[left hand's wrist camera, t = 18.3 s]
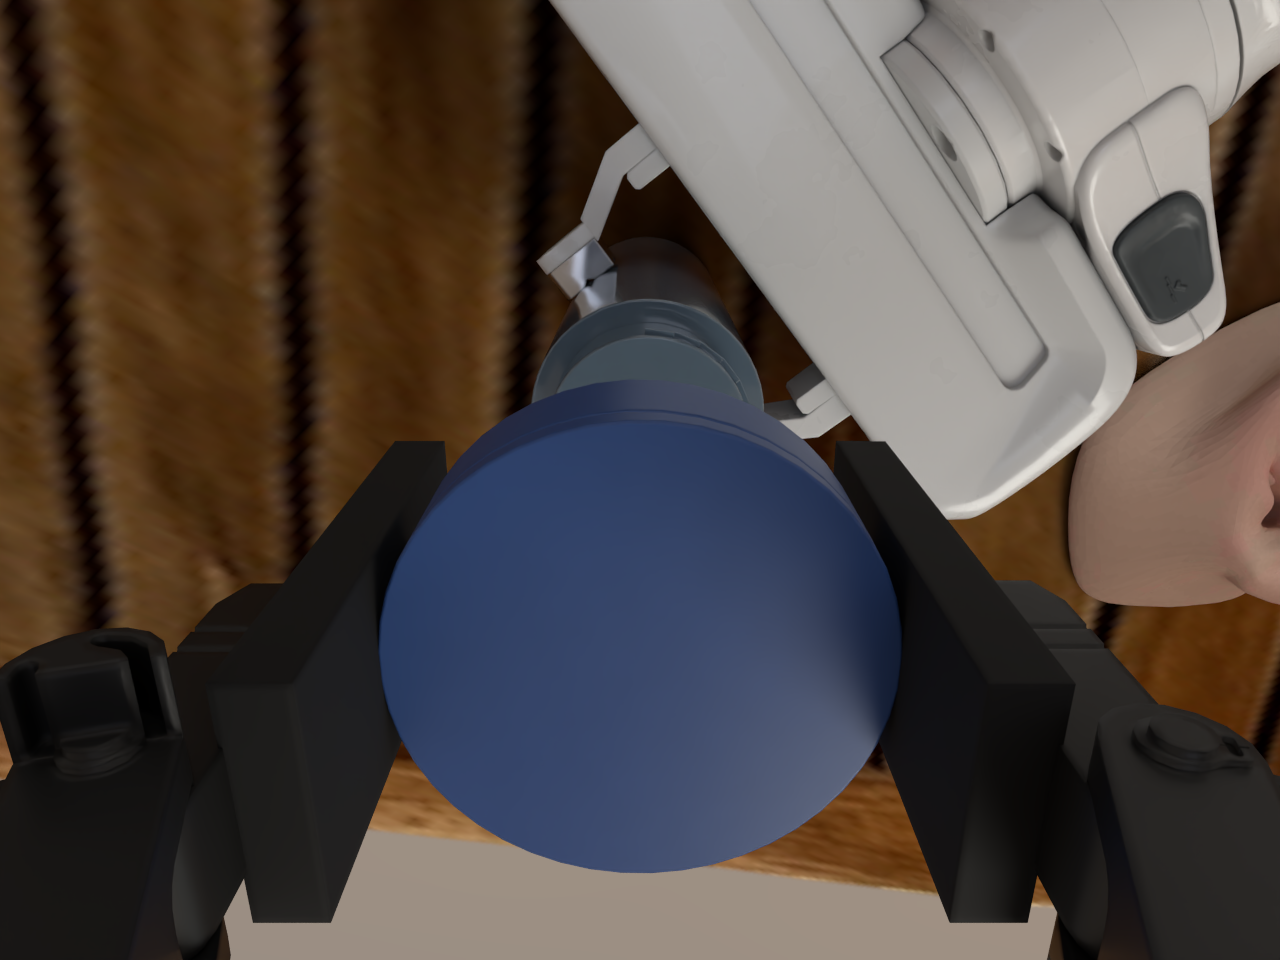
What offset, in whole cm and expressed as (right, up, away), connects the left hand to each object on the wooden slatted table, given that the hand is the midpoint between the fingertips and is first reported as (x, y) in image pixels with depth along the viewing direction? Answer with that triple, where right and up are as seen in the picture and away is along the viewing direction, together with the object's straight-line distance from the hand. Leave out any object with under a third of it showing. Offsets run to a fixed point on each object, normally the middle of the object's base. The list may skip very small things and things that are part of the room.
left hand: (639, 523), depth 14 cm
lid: (0, -1, -4) cm, 4 cm away
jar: (0, +7, +20) cm, 21 cm away
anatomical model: (+23, +1, +22) cm, 32 cm away
